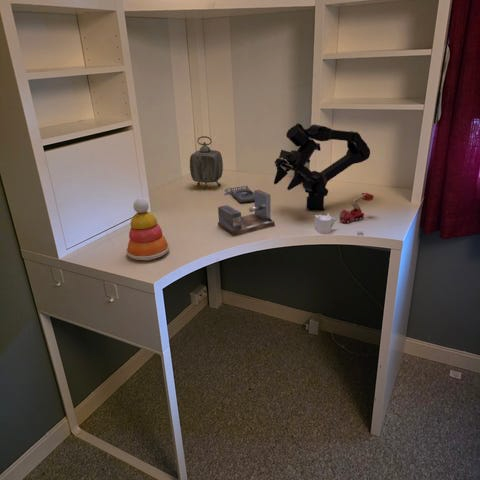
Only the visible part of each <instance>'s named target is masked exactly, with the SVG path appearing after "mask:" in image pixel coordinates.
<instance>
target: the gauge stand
mask: <svg viewBox="0 0 480 480" xmlns="http://www.w3.org/2000/svg"><path fill="white" fill-rule="evenodd" d="M217 209H218V210H217V212H218V222H217V227H219V228H220V229H222V230H223V231H225V232H226V233H228V234H230V235H231V236H232V237H236V236H237V237H238V236H241V235H244V234H247V233H251V232H255V231H258V230H263V229H267V228H271V227H275V223H276V222H275V220H273V219H272V221H269V220H268V221H265V220H263V219H262V218H260V217H258V216H256V215H255V213H252V214H247V215H242V211H240V210H238V209H236V208H233V207H231V206H230V205H228V204H226V205H220V206H218V207H217Z"/></svg>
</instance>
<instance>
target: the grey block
mask: <svg viewBox="0 0 480 480" xmlns="http://www.w3.org/2000/svg"><path fill="white" fill-rule="evenodd" d="M253 192H254V198H255V200H254V206H253V207H249V208H248V211H249V213H252V212H254V214H255V215H256V216H258V217H260V218H262V219H263V220H265V221H268V220H269V221H272V220H273V219H272V218H271V217H272V215H271V214H272V213H271V211H272V210H271V194H270V193H267V192H266V191H263V190H261V189H255V190H254V191H253Z"/></svg>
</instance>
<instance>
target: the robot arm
mask: <svg viewBox="0 0 480 480" xmlns="http://www.w3.org/2000/svg"><path fill="white" fill-rule="evenodd" d="M285 136H286V138H287V139H288V140H289V141H290V142H291V143H292V144H294V146H295V147H297V150H294V149H292V150H291V151H287V150H284V149H281V150H280V152H279V156H278V158H276V159H275V161H274V164H275V167H276V173H275V177H274V180H273V184H274V185H275V186H276V185H277V184H279V182H281V181H282V180H283V179H284V178H285V177H286V176H287V175H288V174H289V172H290V171H293V172H294V173H293V177H292V179H291V181H290V182H289V184H288V186H287V188H286V189H287V190H288V191H291V190H293V189H294V188H296V187H297V186H299V185H302V187H303V189H304V192H305V193H306V194H307V196H306V205H305V206H306V208H307V211H325V208H324V206H325V205H324V204H325V203H324V202H325V197H326V196H328V194H329V189H328V188H327V185H328V182H329V181H331V180H332V179H333V178H335V177H337V176H338V175H340V174H341V173H342V172H344V171H345V170H346V169H349V167H351V166H352V165H355V164H360V163H363V162H364V161H367V160H368V159H369V158H370V156H371V149H370V148H369V146H368V144H367V143H366V141H365V140H364V139H363V138H362V137H361V135H360V133H359V132H358V131H353V130H350V131H346V130H341V129H340V130H338V129H332V128H330V127H327V126H324V125H320V124H315V123H314V124H311V125H310V126H309V127H308V128H306V129H305V128H304V127H303V125H302V124H301V123H296V124H295V125H293V126H291V127H290V128H289V129H288V130H287V132H286V135H285ZM331 140H335V141H346V145H347V146H346V147H347V151H346V154H345V155H343V156H342V157H341V158H339V159H338V160H336V161H334V162H333V163H331V165H329V166H327V167H326V168H325V169H323V170H321V171H320V172H319V171H316V170H313V171H311V170H310V169H309V167H307V166H306V164H310V162H311V160H310V159H311V157H312V155H313V153H315V151H317V152H319V151H320V152H321V151H322V149H321V144H320V143H319V142H328V141H331ZM316 141H319V142H316Z"/></svg>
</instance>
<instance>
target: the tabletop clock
mask: <svg viewBox="0 0 480 480" xmlns="http://www.w3.org/2000/svg"><path fill="white" fill-rule="evenodd" d="M200 139H208V140H209V141H210V142H209V143H207V142H206V141H205V142H203V143H201V142H199V140H200ZM197 143H198V144H199V145H201V147H200V148H199V149H198V150H196V151H195V152H193V153H192V154H191V155H190V158H189V172H190V176H191V179H192V181H194V182H196V185H197V186H198V187H199V186H200V185H201V183H203V184H205V185H204V187H203V189H205V190H208V189H209V187H208V186H207V185H208V183H216V185H217V187H218V188H219V187H221V186H222V184H221V183H219V182H218V181H219V180H220V179H221V178H222V176H223V171H224V163H223V155H222V154H221V152H220V151H219V150H215V149H211V147H210V145H211V144H212V143H213V142H212V138H211V137H209V136H207V135H206V136H205V135H204V136H203V135H202V136H200V137H198V138H197Z"/></svg>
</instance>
